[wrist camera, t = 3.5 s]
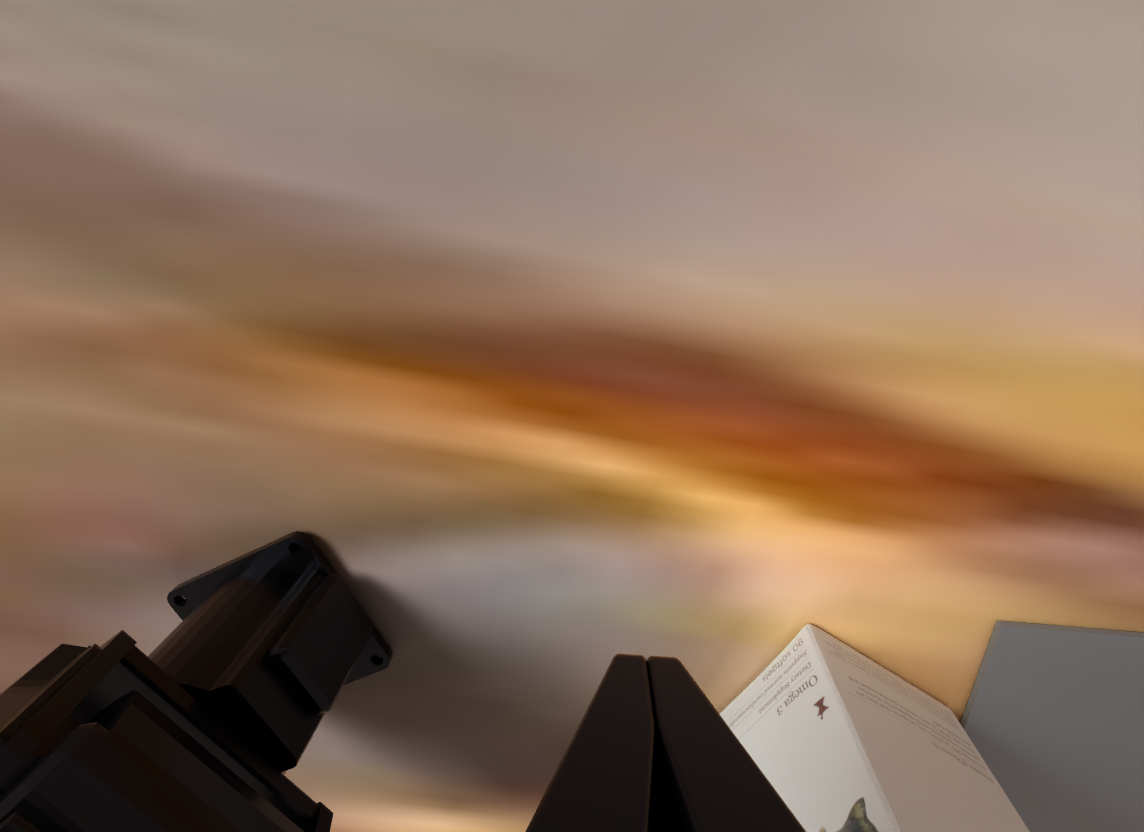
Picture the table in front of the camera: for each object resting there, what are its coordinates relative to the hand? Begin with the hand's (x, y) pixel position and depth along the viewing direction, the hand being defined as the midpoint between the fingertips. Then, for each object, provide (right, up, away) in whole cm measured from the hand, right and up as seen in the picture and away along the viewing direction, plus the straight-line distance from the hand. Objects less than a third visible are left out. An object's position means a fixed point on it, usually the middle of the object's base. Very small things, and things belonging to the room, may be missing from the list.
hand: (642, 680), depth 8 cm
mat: (+21, -10, +16) cm, 28 cm away
